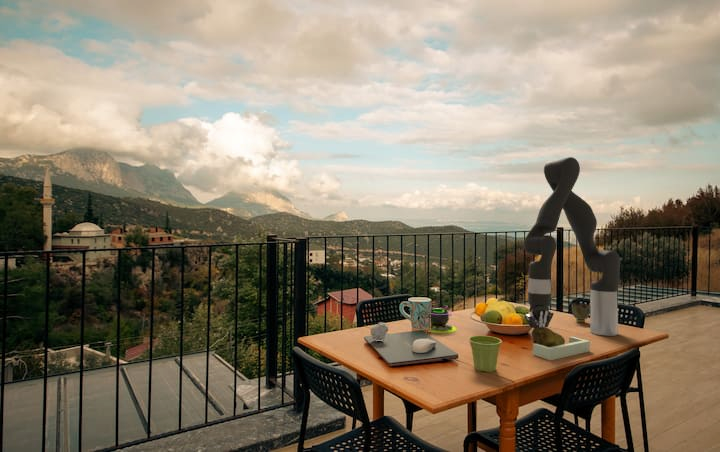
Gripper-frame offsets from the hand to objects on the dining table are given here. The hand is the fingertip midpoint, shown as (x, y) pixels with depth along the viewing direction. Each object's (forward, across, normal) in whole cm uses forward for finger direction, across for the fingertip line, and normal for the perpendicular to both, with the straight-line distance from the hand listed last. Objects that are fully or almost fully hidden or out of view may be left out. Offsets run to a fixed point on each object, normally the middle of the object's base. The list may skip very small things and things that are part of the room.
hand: (538, 339), depth 144 cm
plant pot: (+2, +35, +8) cm, 36 cm away
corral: (+2, 0, +9) cm, 9 cm away
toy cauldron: (+3, +16, -36) cm, 40 cm away
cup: (+3, -48, -16) cm, 51 cm away
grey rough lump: (+2, +48, -30) cm, 57 cm away
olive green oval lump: (+2, +1, +5) cm, 5 cm away
